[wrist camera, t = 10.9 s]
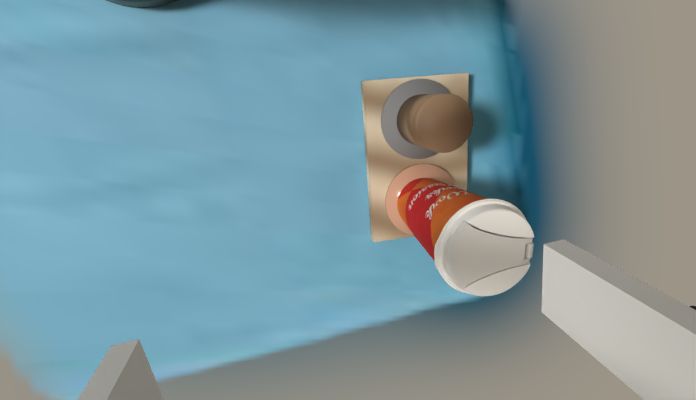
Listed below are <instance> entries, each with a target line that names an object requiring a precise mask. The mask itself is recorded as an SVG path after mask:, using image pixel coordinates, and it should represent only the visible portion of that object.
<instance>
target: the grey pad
mask: <svg viewBox="0 0 696 400" xmlns="http://www.w3.org/2000/svg"><path fill="white" fill-rule="evenodd" d="M419 94H450V93H449V91H448V90H447V89H446V88H445V87H444V86H443V85H441V84H440V83H438V82H436V81H433V80H430V79H413V80H410V81H407V82H405V83H402V84H401V85H399V86H398V87H397V88H395V89H394V90H393V91H392V93H391V94H390V95H389V96H388V98H387V100H386V102H385V104H384V106H383V109H382V114H381V129H382V133H383V136H384V138H385V140H386V142H387V143H388V145H389V146H390V147H391V148H392V149H393V150H394V151H395V152H397V153H398V154H400V155H402V156H404V157H407V158H411V159H423V158H427V157H430V156H432V155H435V154H436V153H438V152H435V151H432V150H429V149H426V148H423V147H420V146H417V145H414V144H412V143H409V142H407V141H406V140H405V139H404V138H403V137H402V136H401V135H400V133H399V131H398V128H397V114H398V111H399V109H400V107H401V105H402V104H403V103H404V102H405V101H406V100H407V99H408V98H410V97H412V96H415V95H419Z"/></svg>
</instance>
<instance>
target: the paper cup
mask: <svg viewBox="0 0 696 400" xmlns="http://www.w3.org/2000/svg"><path fill="white" fill-rule="evenodd" d="M397 208H398V212H399V215H400V217H401V218H402V220H403V221H404V223H405V224H406V225H407V227H408V228H409V229H410V231H411V232H412V233H413V235H414V236H415V237H416V238H417V240H418V241H419V242H420V243H421V245H422V246H423V247H424V248H425V250H426V251H427V252H428V253H429V255H430V256H431V257H432V258H433V260H434V261H435V266H436V268H437V269H438V271H439V272H440V274H441V276H442V277H443V279H444V280H445V281H446V282H447V283H448V284H449V285H450V286H451V287H453V288H454V289H456V290H458V291H461V292H464V293H469V294H473V295H477V296H491V295H496V294H499V293H502V292H504V291H506V290H508V289H509V288H511V287H513V286H514V285H515V284H516V283H517V282H519V281H520V279H521V278H522V277H523V276H524V275H525V273H526V272H527V271H528V269H529V267H530V263H529V260H530V258H532V253H533V245H534V244H533V243H532V238H533V237H534V234H533V231H532V229H531V226H530V225H529V223H528V222H527V220H526V218H525V216H524V215H523V213H522V212H521V211H520V210H519V209H518V208H517V207H516V206H514V205H513V204H511V203H509V202H506V201H504V200H499V199H487V198H484V197H481V196H479V195H476V194H473V193H470V192H468V191H465V190H462V189H460V188H457V187H454V186H451V185H449V184H446V183H443V182H440V181H437V180H434V179H430V178H418V179H415V180H413V181H411V182H409V183H408V184H407V185H406V186H405V187H404V188H403V189H402V191H401V192H400V194H399V197H398V201H397Z"/></svg>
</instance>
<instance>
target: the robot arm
mask: <svg viewBox="0 0 696 400" xmlns="http://www.w3.org/2000/svg"><path fill="white" fill-rule="evenodd" d="M107 1H109V2H112V3H116V4H120V5H124V6H130V7H155V6H161V5H165V4H168V3H171V2H174V1H176V0H107ZM542 286H543V287H542V313H544V314H545V315H546V316H547V317H548V318H549V319H550V320H552V321H553V322H554V323H555V324H556V325H557V326H559V327H560V328H561V329H562V330H563V331H564V332H566V333H567V334H568V335H569V336H570V337H572V338H573V339H574V340H575V341H576V342H577V343H578V344H580V345H581V346H582V347H583V348H584V349H585V350H587V351H588V352H589V353H590V354H591V355H592V356H594V357H595V358H596V359H597V360H598V361H599V362H601V363H602V364H603V365H604V366H605V367H607V368H608V369H609V370H610V371H611V372H612V373H613V374H615V375H616V376H617V377H618V378H619V379H620V380H622V381H623V382H624V383H625V384H626V385H628V386H629V387H630V388H631V389H632V390H633V391H635V392H636V393H637V394H638V395H639V396H640V397H642V398H643V399H644V400H696V306H690V307H689V306H687V305H685V304H683V303H681V302H679V301H677V300H676V299H674V298H672V297H670V296H668V295H667V294H665V293H663V292H661V291H659V290H657V289H655V288H654V287H652V286H650V285H648V284H646V283H644V282H642V281H640V280H639V279H637V278H635V277H633V276H631V275H629V274H627V273H625V272H624V271H622V270H620V269H618V268H616V267H614V266H613V265H611V264H609V263H607V262H605V261H603V260H601V259H600V258H598V257H595V256H594V255H592V254H590V253H588V252H586V251H585V250H583V249H581V248H579V247H577V246H575V245H573V244H571V243H570V242H568V241H566V240H564V239H563V240H559V241H555V242H551V243H546V244H544V252H543V285H542ZM78 400H164V399H163V397H162V394H161V392H160V389H159V387H158V384H157V382H156V379H155V377H154V375H153V372H152V370H151V367H150V365H149V362H148V360H147V357H146V355H145V352H144V350H143V348H142V345H141V343H140V340H134V341H130V342H126V343H122V344H117V345H113V346H111V348H110V349H109V351H108V352H107V354H106V355H105V357H104V359H103V360H102V362H101V363H100V365H99V367H98V368H97V370H96V371H95V373H94V374H93V376H92V378H91V379H90V381H89V382H88V384H87V386H86V387H85V389H84V390H83V392H82V394H81V395H80V397H79V398H78Z"/></svg>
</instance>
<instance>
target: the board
mask: <svg viewBox="0 0 696 400" xmlns="http://www.w3.org/2000/svg"><path fill="white" fill-rule="evenodd" d="M413 79H430V80H433V81H436V82H438V83H440V84H441V85H443V86H444V87H445V88H446V89H447V90H448V91H449V93H450V94H454V95H457V96H459V97H461V98H462V99H464V100H465V101H466V102H467V104H468V81H469V73H459V74H446V75H434V76H421V77H408V78H395V79H382V80H370V81H361V89H362V104H363V120H364V135H365V150H366V165H367V181H368V196H369V211H370V226H371V239H372V240H373V242H378V241H385V240H392V239H398V238H405V237H412V236H414V235H410V234H407V233H404V232H402V231H401V230H399V229H398V228H397V227H396V226H395V225H394V224H393V223H392V222H391V221H390V219H389V217H388V215H387V212H386V207H385V197H386V193H387V189H388V187H389V185H390V183H391V181H392V180H393V179H394V177H395V176H396V175H397V174H398V173H399V172H401V171H402V170H404V169H405V168H407V167H409V166H412V165H415V164H422V163H425V164H432V165H435V166H437V167H439V168H441V169H443V170H444V171H446V172H447V173H448V174H449V176H450V177H451V178H452V180H453V182H454V185H455V187H457V188H460V189H462V190H465V191H467V152H468V139H467V140H466V142H465V143H464V144H463V145H462V146H461V147H459V148H458V149H456V150H454V151H452V152H448V153H439V152H438V153H436V154H435V155H432V156H430V157H427V158H423V159H411V158H407V157H404V156H402V155H400V154H398V153H397V152H395V151H394V150H393V149H392V148H391V147H390V146H389V145H388V143H387V142H386V140H385V138H384V136H383V133H382V129H381V114H382V109H383V106H384V104H385V102H386V100H387V98H388V96H389V95H390V94H391V93H392V91H393V90H394V89H395V88H397V87H398V86H399V85H401V84H402V83H405V82H407V81H410V80H413Z"/></svg>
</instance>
